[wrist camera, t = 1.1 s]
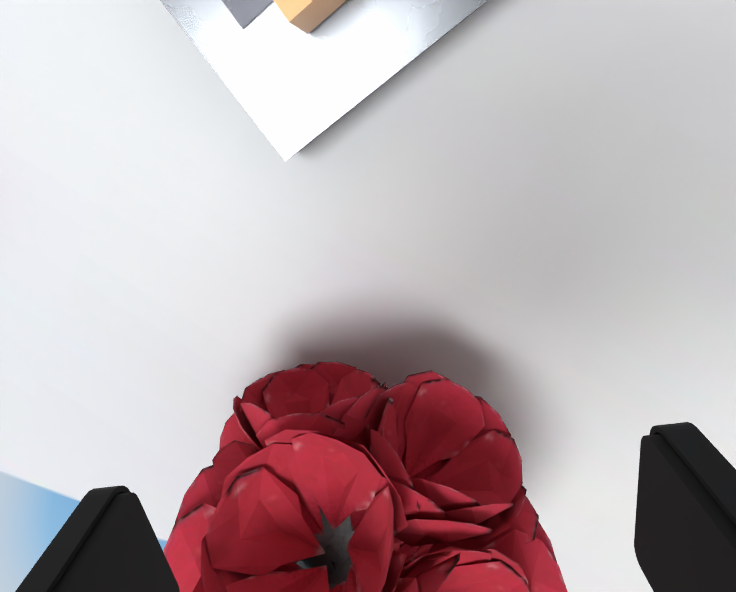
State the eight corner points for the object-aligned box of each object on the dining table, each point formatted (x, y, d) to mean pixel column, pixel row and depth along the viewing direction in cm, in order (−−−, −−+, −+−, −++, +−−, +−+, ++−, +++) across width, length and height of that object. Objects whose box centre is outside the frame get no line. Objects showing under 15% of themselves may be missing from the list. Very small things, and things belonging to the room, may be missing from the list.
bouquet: (415, 515, 52) (643, 431, 28) (331, 824, 37) (663, 1181, 14) (232, 421, 50) (315, 248, 26) (66, 708, 35) (-79, 895, 12)
